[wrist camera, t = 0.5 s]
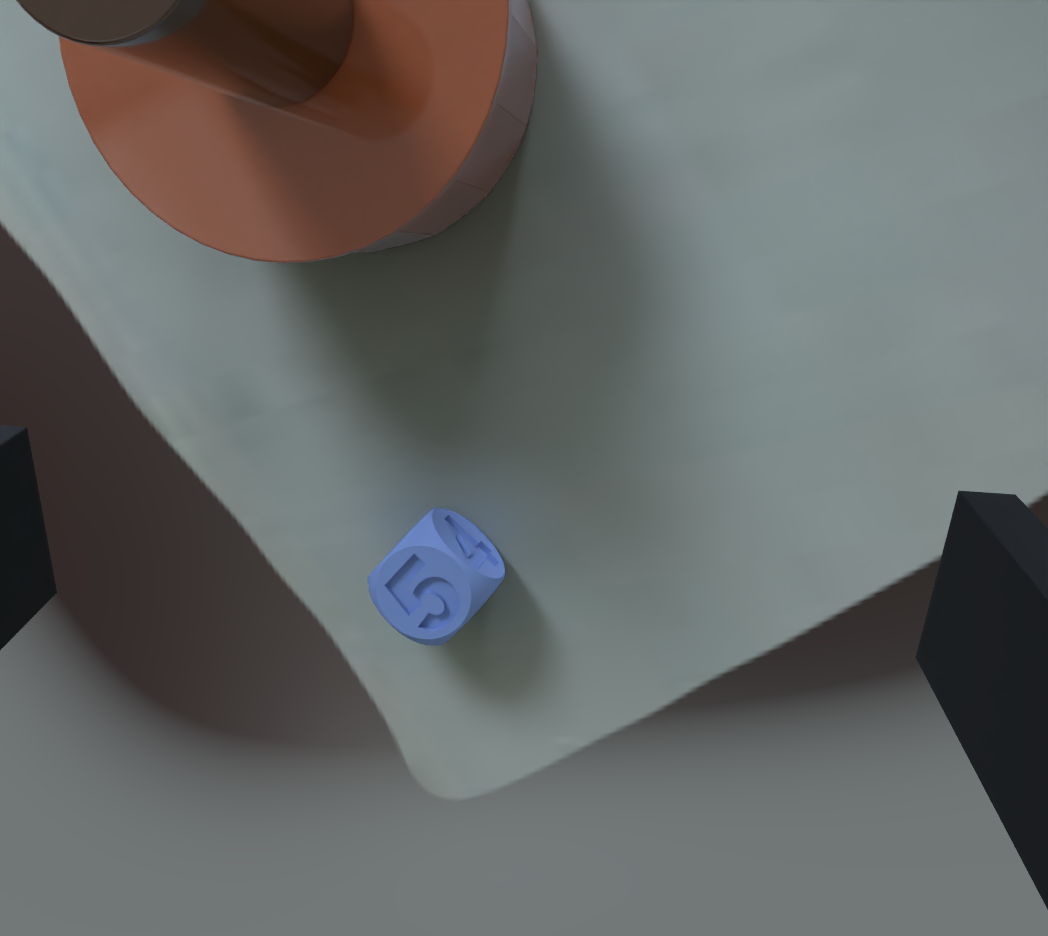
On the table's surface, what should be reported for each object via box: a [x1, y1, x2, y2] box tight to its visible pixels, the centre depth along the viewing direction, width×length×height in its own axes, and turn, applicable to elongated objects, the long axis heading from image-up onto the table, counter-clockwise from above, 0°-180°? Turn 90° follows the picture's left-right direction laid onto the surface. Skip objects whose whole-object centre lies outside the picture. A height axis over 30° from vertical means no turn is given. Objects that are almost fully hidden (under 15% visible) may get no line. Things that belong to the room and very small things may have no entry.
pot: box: [357, 0, 538, 252], centre depth 33 cm, size 14×14×8 cm
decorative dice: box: [368, 508, 505, 645], centre depth 38 cm, size 4×4×4 cm
